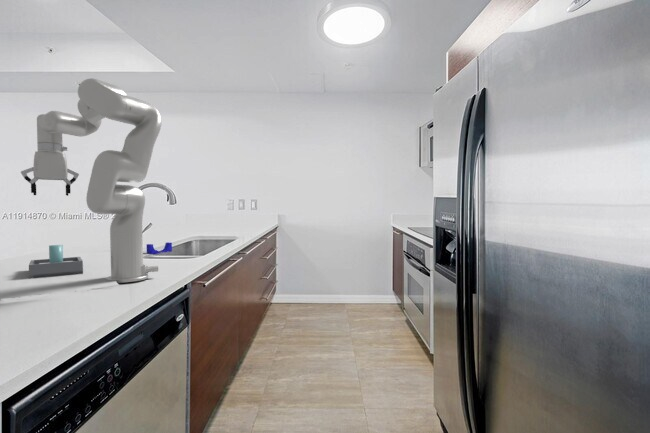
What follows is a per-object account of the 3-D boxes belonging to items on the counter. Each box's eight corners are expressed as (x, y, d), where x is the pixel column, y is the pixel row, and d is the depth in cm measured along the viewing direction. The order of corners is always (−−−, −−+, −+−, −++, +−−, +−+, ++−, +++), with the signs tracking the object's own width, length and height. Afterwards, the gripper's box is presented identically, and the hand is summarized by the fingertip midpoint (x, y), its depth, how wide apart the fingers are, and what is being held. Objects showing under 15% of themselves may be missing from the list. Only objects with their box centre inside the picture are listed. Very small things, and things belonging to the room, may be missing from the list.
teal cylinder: (63, 269, 137) (62, 244, 136) (63, 270, 133) (62, 245, 133) (49, 270, 134) (49, 245, 134) (49, 271, 131) (48, 246, 131)
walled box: (80, 268, 145) (80, 256, 145) (82, 273, 132) (82, 260, 132) (31, 272, 136) (31, 260, 136) (29, 278, 123) (28, 265, 123)
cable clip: (152, 257, 180) (152, 244, 180) (146, 256, 183) (146, 244, 183) (173, 254, 191) (173, 242, 191) (168, 253, 193) (168, 242, 193)
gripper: (77, 152, 146) (78, 196, 146) (20, 148, 135) (22, 195, 136) (78, 149, 140) (79, 195, 140) (19, 145, 129) (20, 194, 130)
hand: (51, 195), depth 138 cm, fingers open, 9 cm apart
